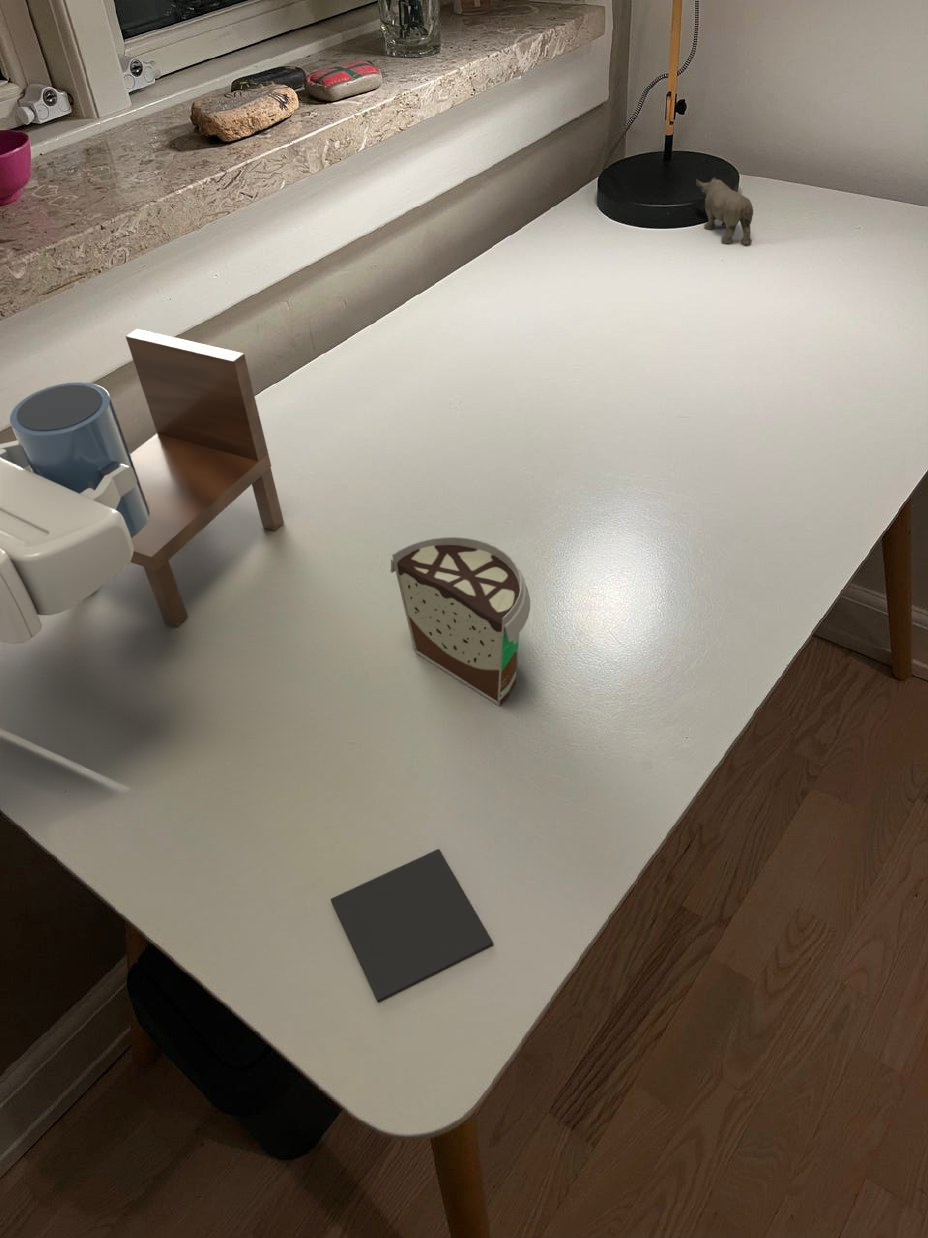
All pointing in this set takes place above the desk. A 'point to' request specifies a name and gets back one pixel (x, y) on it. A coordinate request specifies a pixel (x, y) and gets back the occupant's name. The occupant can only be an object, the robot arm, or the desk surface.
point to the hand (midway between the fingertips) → (91, 455)
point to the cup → (77, 442)
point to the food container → (464, 610)
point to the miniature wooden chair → (194, 451)
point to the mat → (410, 924)
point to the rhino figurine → (727, 209)
